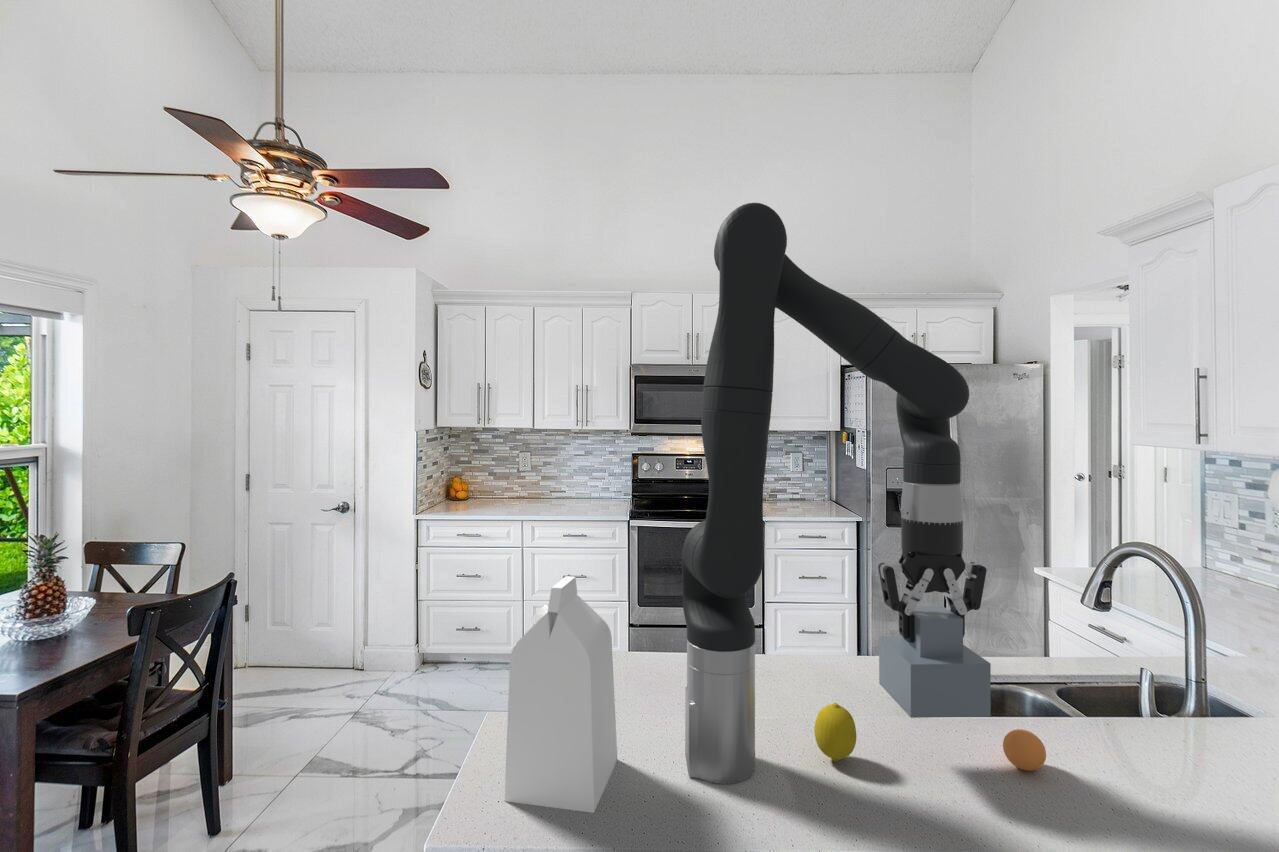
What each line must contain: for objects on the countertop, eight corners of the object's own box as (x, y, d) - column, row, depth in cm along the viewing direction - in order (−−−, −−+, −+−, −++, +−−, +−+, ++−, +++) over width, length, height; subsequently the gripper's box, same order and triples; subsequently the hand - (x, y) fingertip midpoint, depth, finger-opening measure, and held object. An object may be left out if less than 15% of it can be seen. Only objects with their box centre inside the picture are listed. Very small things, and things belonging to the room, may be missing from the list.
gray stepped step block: (910, 717, 80) (910, 625, 79) (879, 683, 90) (878, 601, 90) (990, 716, 80) (990, 624, 79) (950, 682, 90) (949, 600, 90)
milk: (594, 812, 75) (593, 597, 75) (504, 801, 78) (503, 592, 77) (617, 759, 87) (617, 573, 87) (539, 750, 89) (538, 569, 89)
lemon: (859, 774, 83) (859, 714, 83) (815, 769, 84) (816, 710, 84) (853, 752, 89) (853, 696, 89) (813, 748, 90) (813, 693, 90)
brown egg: (1016, 778, 82) (1017, 740, 82) (994, 758, 87) (995, 722, 87) (1054, 778, 82) (1055, 740, 82) (1030, 757, 87) (1030, 722, 87)
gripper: (889, 521, 80) (890, 651, 81) (1000, 519, 81) (1000, 650, 81) (867, 512, 88) (868, 631, 88) (969, 511, 88) (969, 630, 88)
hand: (931, 639), depth 85 cm, fingers closed on gray stepped step block, 5 cm apart
